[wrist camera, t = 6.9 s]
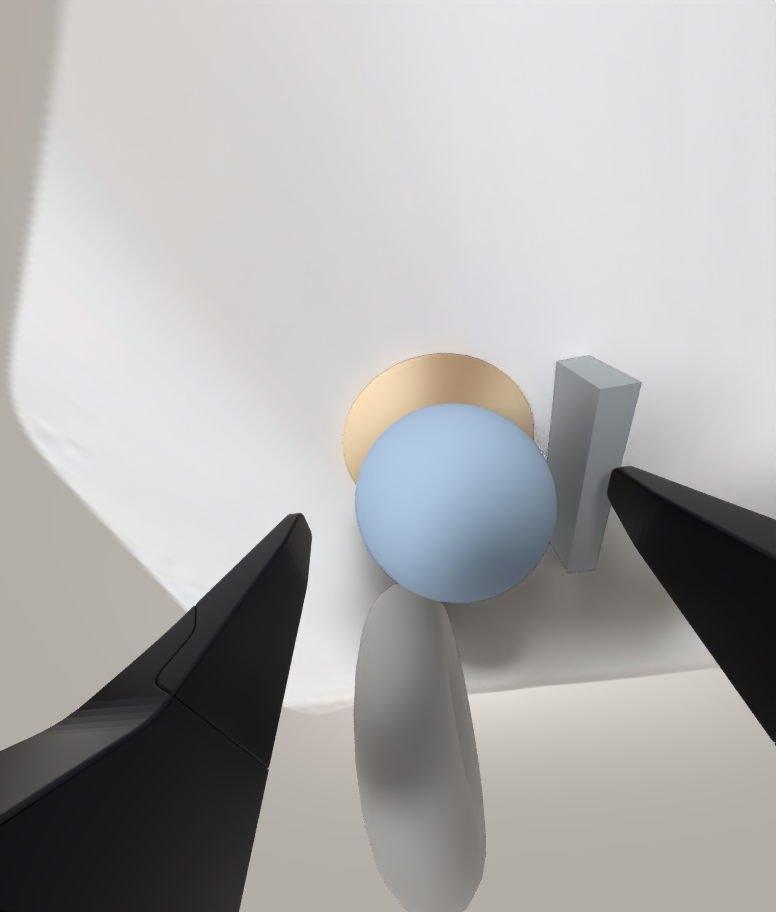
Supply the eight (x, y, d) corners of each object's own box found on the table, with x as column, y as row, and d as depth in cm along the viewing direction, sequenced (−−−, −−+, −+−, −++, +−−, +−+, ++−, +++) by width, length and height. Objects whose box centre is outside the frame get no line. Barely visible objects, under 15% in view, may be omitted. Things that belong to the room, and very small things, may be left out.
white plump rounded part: (354, 544, 15) (308, 916, 7) (425, 529, 14) (474, 917, 6) (407, 647, 20) (419, 930, 12) (460, 640, 20) (514, 931, 11)
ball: (513, 495, 13) (585, 635, 8) (379, 514, 13) (373, 655, 9) (517, 360, 10) (632, 457, 5) (345, 392, 10) (309, 505, 6)
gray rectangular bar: (589, 355, 10) (641, 381, 8) (564, 522, 14) (594, 569, 12) (556, 361, 10) (600, 389, 8) (540, 525, 14) (567, 573, 12)
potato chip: (536, 333, 10) (540, 336, 10) (526, 502, 13) (529, 507, 13) (319, 375, 10) (317, 377, 10) (366, 524, 14) (366, 529, 14)
